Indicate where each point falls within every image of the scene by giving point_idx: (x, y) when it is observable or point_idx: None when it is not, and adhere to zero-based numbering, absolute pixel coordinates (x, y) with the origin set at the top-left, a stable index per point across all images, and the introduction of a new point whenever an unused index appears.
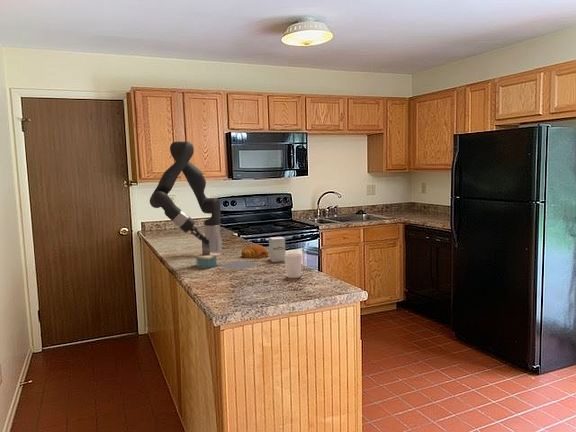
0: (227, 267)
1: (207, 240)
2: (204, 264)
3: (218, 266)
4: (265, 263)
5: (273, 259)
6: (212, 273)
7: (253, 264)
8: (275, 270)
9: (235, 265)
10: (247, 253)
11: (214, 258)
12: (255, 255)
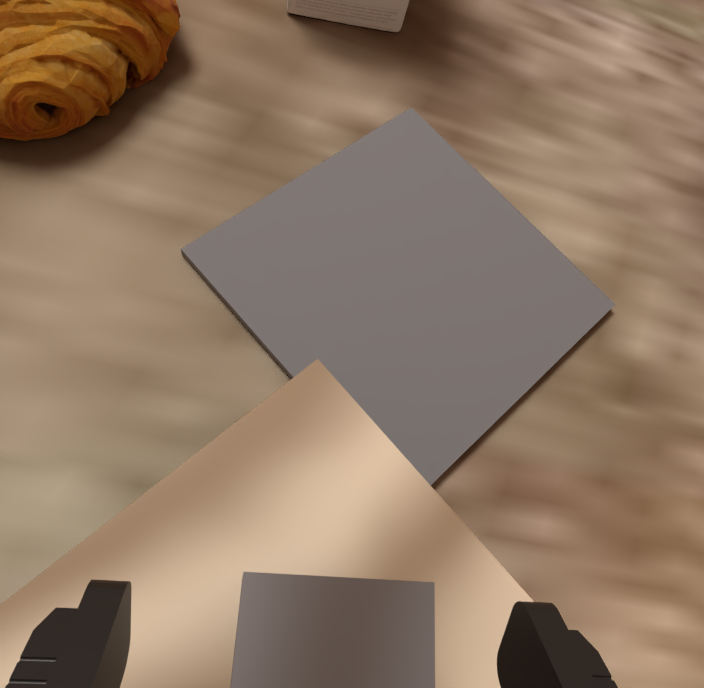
0: (492, 414)
1: (574, 655)
2: None
3: None
4: (397, 80)
5: (407, 3)
6: (674, 615)
7: (444, 173)
8: (669, 116)
9: (425, 319)
10: (87, 77)
11: None
12: (157, 43)
